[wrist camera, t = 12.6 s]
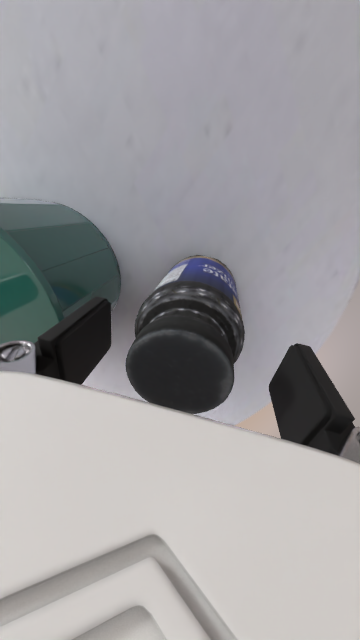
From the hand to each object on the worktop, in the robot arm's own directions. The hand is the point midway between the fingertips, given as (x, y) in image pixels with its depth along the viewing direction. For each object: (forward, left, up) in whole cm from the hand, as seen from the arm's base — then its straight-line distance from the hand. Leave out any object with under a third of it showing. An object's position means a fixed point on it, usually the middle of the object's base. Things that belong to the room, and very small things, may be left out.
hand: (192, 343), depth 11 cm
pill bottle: (0, 0, -9) cm, 9 cm away
